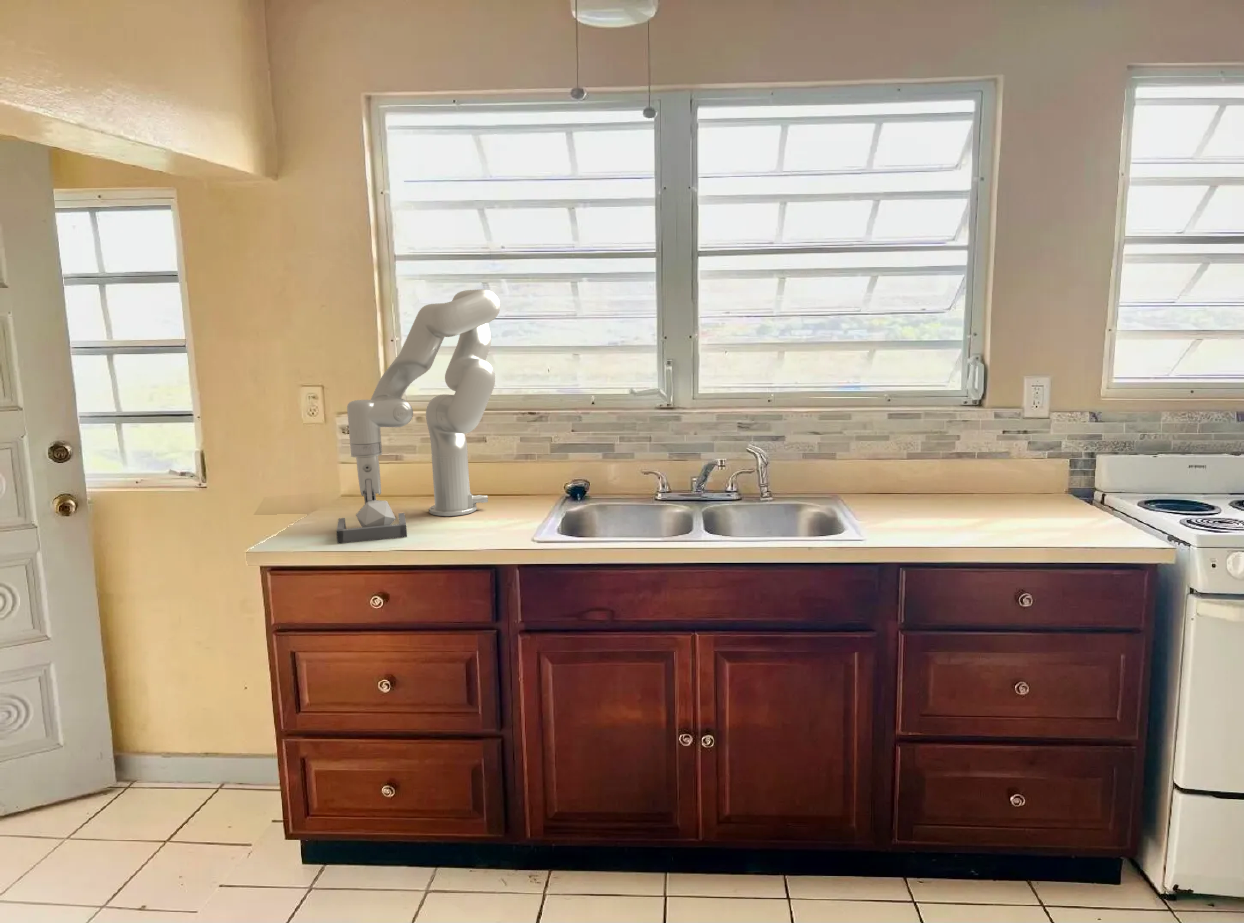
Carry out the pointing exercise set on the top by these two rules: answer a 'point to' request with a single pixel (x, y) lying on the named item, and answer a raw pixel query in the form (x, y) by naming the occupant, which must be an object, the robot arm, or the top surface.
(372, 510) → the die
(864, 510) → the top surface
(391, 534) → the bay
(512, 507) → the top surface
